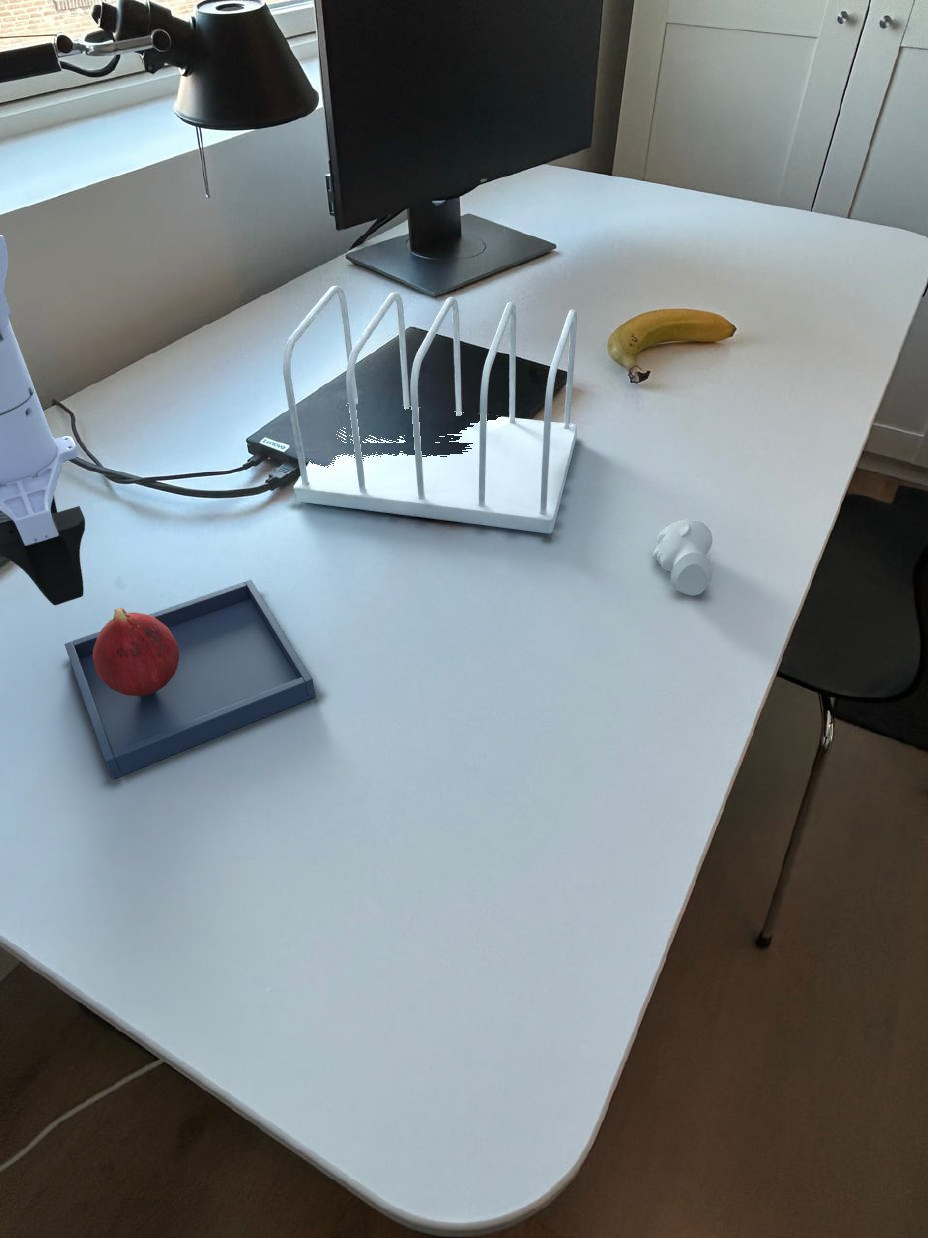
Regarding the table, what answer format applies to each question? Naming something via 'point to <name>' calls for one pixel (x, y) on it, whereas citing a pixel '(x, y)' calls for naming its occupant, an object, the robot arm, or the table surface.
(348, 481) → the file sorter
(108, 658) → the red pomegranate
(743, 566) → the table surface
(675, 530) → the pale two-lobed sculpture
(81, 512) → the robot arm
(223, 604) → the tray
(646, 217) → the table surface
